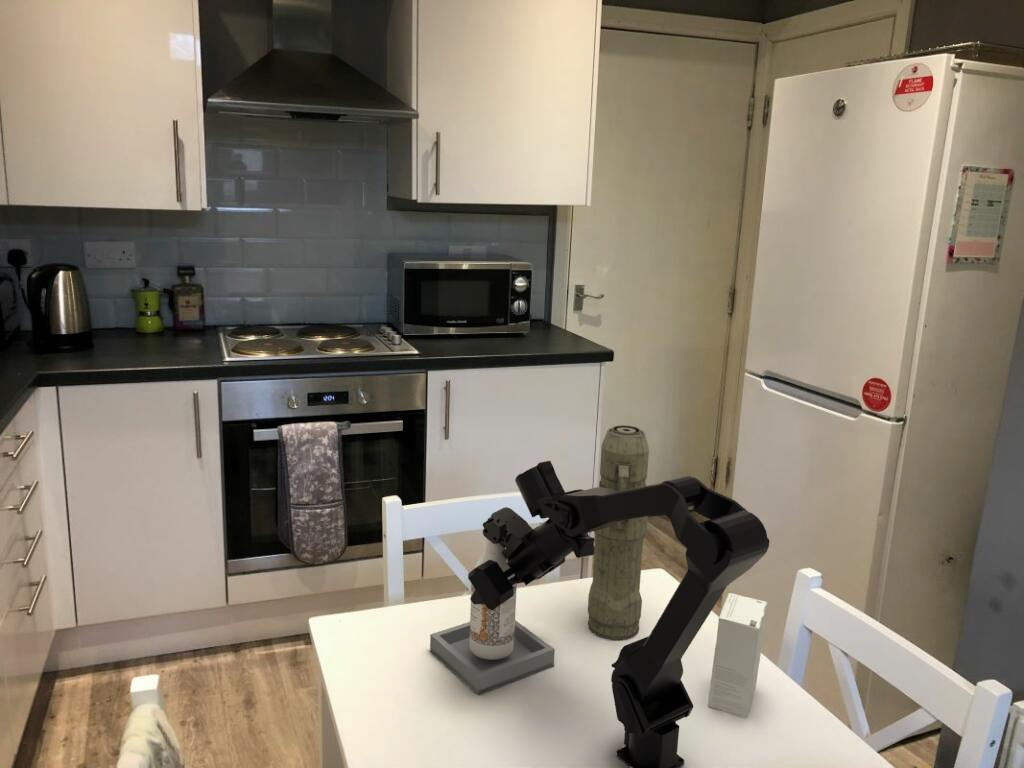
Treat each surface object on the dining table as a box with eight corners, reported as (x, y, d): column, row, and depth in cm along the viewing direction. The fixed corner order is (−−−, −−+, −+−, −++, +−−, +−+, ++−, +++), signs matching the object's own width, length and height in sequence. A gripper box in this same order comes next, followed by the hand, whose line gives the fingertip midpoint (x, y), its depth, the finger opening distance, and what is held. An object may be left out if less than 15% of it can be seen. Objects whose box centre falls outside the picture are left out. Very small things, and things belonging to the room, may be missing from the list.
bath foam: (461, 643, 132) (465, 523, 128) (500, 635, 135) (506, 518, 131) (480, 665, 126) (485, 540, 122) (521, 655, 129) (527, 533, 125)
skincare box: (717, 679, 128) (726, 590, 125) (758, 689, 126) (768, 599, 122) (706, 709, 121) (716, 615, 117) (749, 720, 118) (760, 625, 115)
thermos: (635, 610, 148) (649, 420, 140) (643, 646, 136) (659, 441, 128) (585, 608, 148) (596, 418, 140) (589, 644, 137) (601, 439, 129)
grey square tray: (553, 666, 130) (554, 649, 129) (478, 695, 122) (479, 677, 121) (502, 627, 141) (502, 610, 140) (430, 651, 133) (430, 634, 132)
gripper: (551, 481, 130) (492, 530, 139) (480, 516, 115) (418, 569, 124) (593, 540, 128) (531, 587, 136) (526, 585, 113) (460, 634, 121)
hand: (486, 592), depth 130 cm, fingers closed on bath foam, 7 cm apart
